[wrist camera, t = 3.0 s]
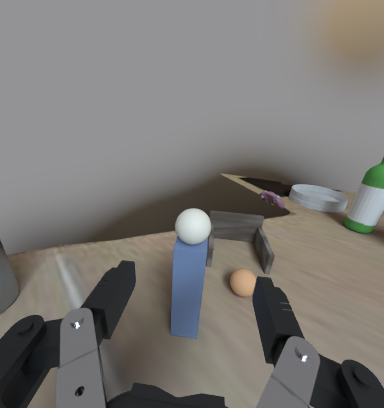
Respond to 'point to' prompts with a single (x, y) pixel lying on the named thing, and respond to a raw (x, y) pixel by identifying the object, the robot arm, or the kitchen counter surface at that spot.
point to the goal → (240, 234)
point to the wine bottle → (367, 201)
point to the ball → (243, 282)
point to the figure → (189, 271)
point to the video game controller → (272, 199)
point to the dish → (318, 198)
